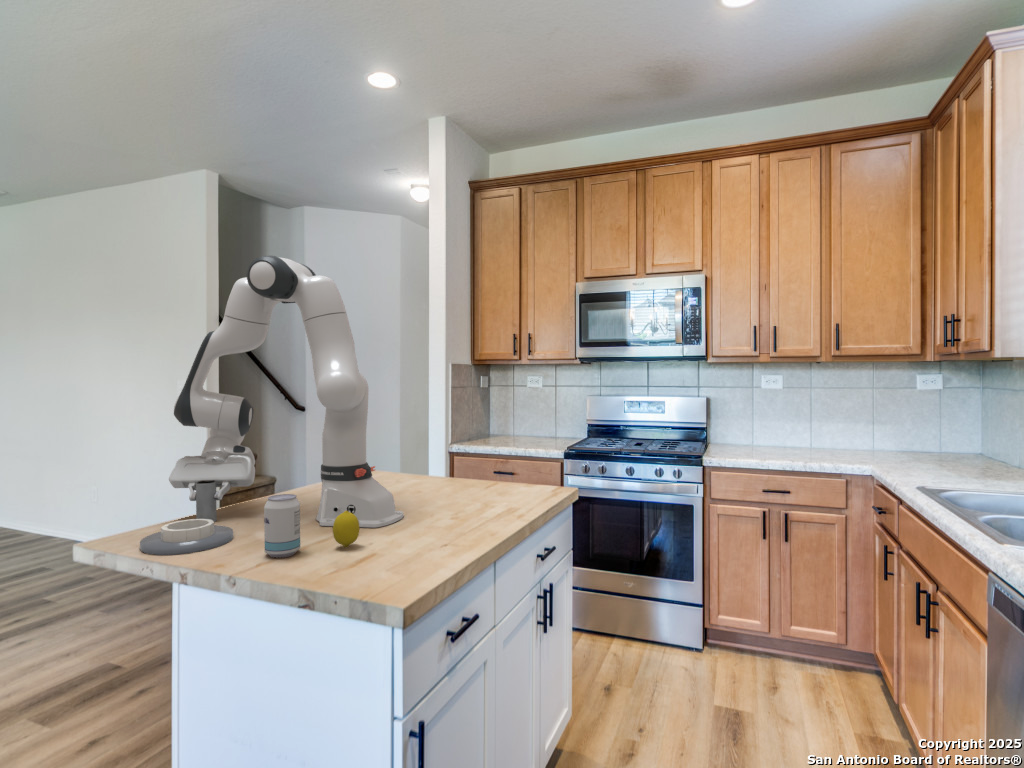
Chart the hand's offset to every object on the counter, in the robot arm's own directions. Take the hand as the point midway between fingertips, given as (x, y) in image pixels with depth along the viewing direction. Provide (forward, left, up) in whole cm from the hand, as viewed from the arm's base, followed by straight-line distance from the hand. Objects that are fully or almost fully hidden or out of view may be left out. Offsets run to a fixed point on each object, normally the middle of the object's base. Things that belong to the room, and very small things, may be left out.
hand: (205, 499), depth 143 cm
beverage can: (-37, +14, -6) cm, 40 cm away
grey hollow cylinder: (0, -1, -6) cm, 6 cm away
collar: (-11, +14, -6) cm, 19 cm away
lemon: (-47, +6, -6) cm, 48 cm away
